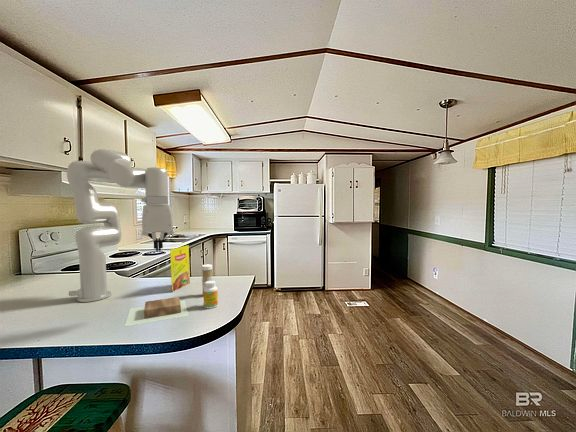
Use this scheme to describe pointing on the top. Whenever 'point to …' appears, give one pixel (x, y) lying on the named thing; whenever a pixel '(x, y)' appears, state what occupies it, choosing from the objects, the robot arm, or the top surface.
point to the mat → (138, 317)
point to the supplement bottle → (210, 295)
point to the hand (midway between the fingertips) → (158, 250)
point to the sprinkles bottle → (206, 274)
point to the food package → (180, 267)
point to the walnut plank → (162, 307)
